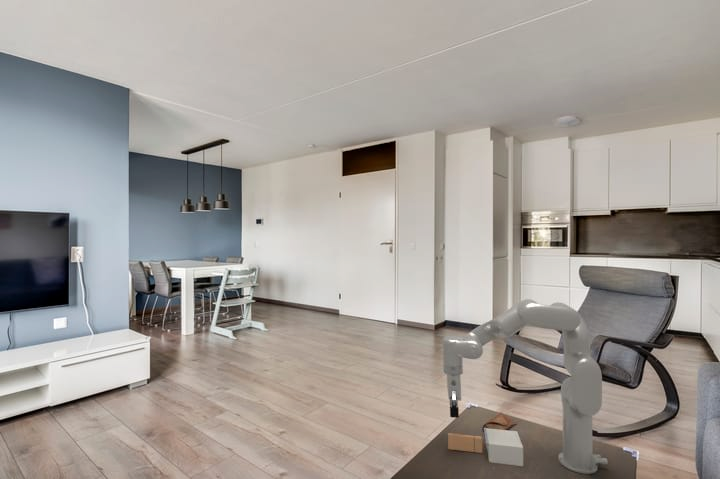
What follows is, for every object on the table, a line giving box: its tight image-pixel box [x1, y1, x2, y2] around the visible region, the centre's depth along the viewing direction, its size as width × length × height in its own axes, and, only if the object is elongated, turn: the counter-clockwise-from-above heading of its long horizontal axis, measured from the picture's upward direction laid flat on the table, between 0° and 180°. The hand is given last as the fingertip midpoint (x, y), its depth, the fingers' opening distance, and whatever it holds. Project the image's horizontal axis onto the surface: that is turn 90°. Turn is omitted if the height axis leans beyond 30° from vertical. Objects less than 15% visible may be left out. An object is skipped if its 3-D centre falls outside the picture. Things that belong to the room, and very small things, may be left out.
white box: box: [483, 428, 524, 467], centre depth 145 cm, size 13×12×7 cm
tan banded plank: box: [447, 432, 483, 454], centre depth 148 cm, size 13×2×6 cm, turn 77°
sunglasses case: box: [482, 411, 518, 433], centre depth 166 cm, size 18×7×7 cm
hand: (454, 411), depth 149 cm, fingers open, 9 cm apart
